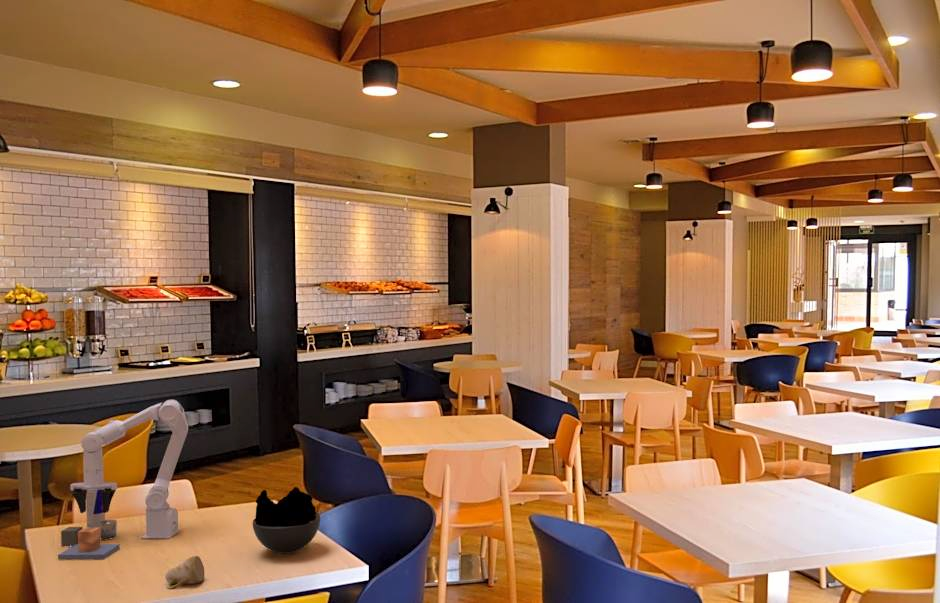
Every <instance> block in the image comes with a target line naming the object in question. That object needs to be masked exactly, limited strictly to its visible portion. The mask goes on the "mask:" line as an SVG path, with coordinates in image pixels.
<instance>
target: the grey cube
mask: <svg viewBox="0 0 940 603" xmlns="http://www.w3.org/2000/svg"><path fill="white" fill-rule="evenodd" d="M117 524H118V520H116V519H105V520H104V521H101V522H100V538H101V539H100V540H105V539H107V540H111V539H110V538H113V539H115V538H117V537H116V536H117V534H118V533H117V531H118V530H117V527H118V525H117ZM114 537H115V538H114Z"/></svg>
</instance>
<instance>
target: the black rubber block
mask: <svg viewBox="0 0 940 603" xmlns="http://www.w3.org/2000/svg"><path fill="white" fill-rule="evenodd" d="M82 529H84V528H83V526H68V527H66V528H64V529H62V530H61V531H60V532H61V533H60V534H61V536H60V537H61V538H60V539H61V541H60V542H61V547H62V546H70V545H71V546H74V545H76V544H78V532H79V531H80V530H82Z"/></svg>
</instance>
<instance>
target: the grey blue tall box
mask: <svg viewBox="0 0 940 603" xmlns="http://www.w3.org/2000/svg"><path fill="white" fill-rule="evenodd" d="M102 491H104V490H87V494H86V511H85V512H86V528H95V527H100V522H101V521H104V520H106V513H104V512H103V500H102V495H101V492H102Z"/></svg>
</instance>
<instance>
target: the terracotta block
mask: <svg viewBox="0 0 940 603" xmlns="http://www.w3.org/2000/svg"><path fill="white" fill-rule="evenodd" d="M100 544H101V539H100V527H95V528H87V527H84V528H83V529H82V530H80V531H79V532H78V551H79V552H93V551H95V550H96V549H98V548H99V547H100Z"/></svg>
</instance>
